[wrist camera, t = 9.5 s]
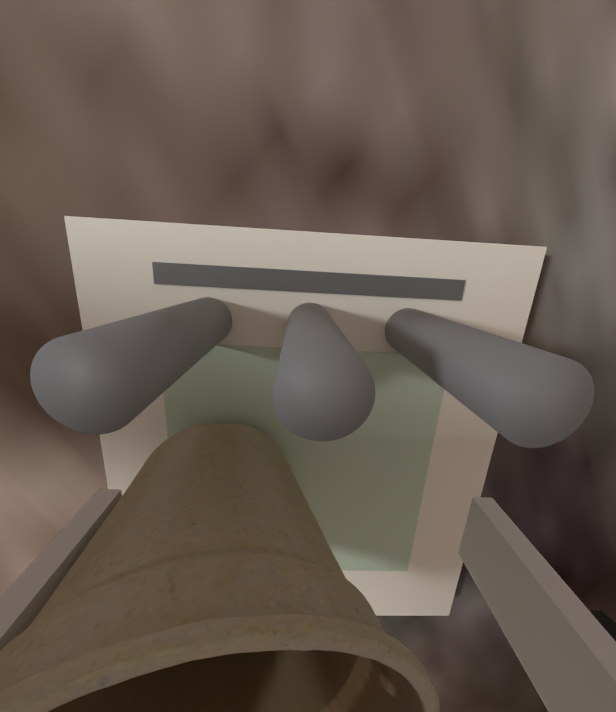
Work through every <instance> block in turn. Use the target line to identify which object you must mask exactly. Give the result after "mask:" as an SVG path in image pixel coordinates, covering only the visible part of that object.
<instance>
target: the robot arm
mask: <svg viewBox="0 0 616 712" xmlns="http://www.w3.org/2000/svg"><path fill="white" fill-rule="evenodd" d="M121 497H122V492H121V490H120V489H99V490H98V491H97V492H96V493H95V494H94V495H93V496H92V497H91V498H90V500H89V501H88V502H87V503H86V504H85V505H84V506H83V507H82V508H81V509H80V511H79V512H78V513H77V514H76V515H75V516H74V517H73V518H72V519H71V520H70V521H69V523H68V524H67V525H66V526H65V527H64V528H63V529H62V530H61V531H60V532H59V534H58V535H57V536H56V537H55V538H54V539H53V540H52V541H51V542H50V543H49V544H48V546H47V547H46V548H45V549H44V550H43V551H42V552H41V553H40V554H39V555H38V557H37V558H36V559H35V560H34V561H33V562H32V563H31V564H30V565H29V566H28V567H27V569H26V570H25V571H24V572H23V573H22V574H21V575H20V576H19V577H18V578H17V580H16V581H15V582H14V583H13V584H12V585H11V586H10V587H9V588H8V589H7V590H6V592H5V593H4V594H3V595H2V596H1V597H0V651H1V650H2V649H3V648H4V647H5V646H6V645H7V644H8V643H9V642H10V641H11V640H13V639H14V638H15V637H16V636H18V635H19V634H20V633H22V632H23V631H24V630H26V629H27V628H28V627H29V626H30V625H31V623H32V622H33V621H34V619H35V618H36V617H37V615H38V614H39V613H40V611H41V610H42V608H43V607H44V605H45V604H46V603H47V601H48V600H49V598H50V597H51V596H52V594H53V593H54V591H55V590H56V589H57V587H58V586H59V584H60V583H61V581H62V580H63V578H64V577H65V576H66V574H67V573H68V571H69V570H70V569H71V567H72V566H73V564H74V563H75V562H76V560H77V559H78V557H79V556H80V555H81V553H82V552H83V550H84V549H85V548H86V546H87V545H88V543H89V542H90V541H91V539H92V538H93V536H94V535H95V533H96V532H97V531H98V529H99V528H100V526H101V525H102V524H103V522H104V521H105V519H106V518H107V517H108V515H109V514H110V512H111V511H112V510H113V508H114V507H115V505H116V504H117V503H118V501H119V500H120V498H121ZM458 554H459V555H460V557H461V559H462V561H463V562H464V564H465V566H466V568H467V570H468V571H469V573H470V575H471V577H472V578H473V580H474V582H475V584H476V585H477V587H478V589H479V591H480V592H481V594H482V596H483V598H484V599H485V601H486V603H487V605H488V606H489V608H490V610H491V612H492V613H493V615H494V617H495V619H496V621H497V622H498V624H499V626H500V628H501V629H502V631H503V633H504V635H505V636H506V638H507V640H508V642H509V643H510V645H511V647H512V649H513V650H514V652H515V654H516V656H517V657H518V659H519V661H520V663H521V664H522V666H523V668H524V670H525V672H526V673H527V675H528V677H529V679H530V680H531V682H532V684H533V686H534V687H535V689H536V691H537V693H538V694H539V696H540V698H541V700H542V701H543V703H544V705H545V707H546V708H547V710H548V712H616V623H615V622H614V621H613V620H612V619H610V618H609V617H608V616H607V615H606V614H604V613H603V612H602V611H589V610H588V609H587V608H586V606H585V605H584V604H583V603H582V602H581V601H580V599H579V598H578V597H577V596H576V595H575V594H574V592H573V591H572V590H571V589H570V588H569V587H568V585H567V584H566V583H565V582H564V581H563V580H562V578H561V577H560V576H559V575H558V574H557V573H556V571H555V570H554V569H553V568H552V567H551V566H550V564H549V563H548V562H547V561H546V560H545V559H544V557H543V556H542V555H541V554H540V553H539V552H538V550H537V549H536V548H535V547H534V546H533V545H532V543H531V542H530V541H529V540H528V539H527V538H526V537H525V535H524V534H523V533H522V532H521V531H520V530H519V528H518V527H517V526H516V525H515V524H514V523H513V521H512V520H511V519H510V518H509V517H508V516H507V514H506V513H505V512H504V511H503V510H502V509H501V507H500V506H499V505H498V504H497V503H496V502H495V500H494V499H493V498H488V497H473V498H472V501H471V505H470V509H469V513H468V517H467V521H466V525H465V529H464V532H463V536H462V540H461V544H460V548H459V552H458Z"/></svg>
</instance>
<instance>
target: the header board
mask: <svg viewBox="0 0 616 712" xmlns="http://www.w3.org/2000/svg"><path fill="white" fill-rule="evenodd" d="M64 219H65V225H66V231H67V237H68V243H69V250H70V256H71V262H72V268H73V274H74V281H75V287H76V293H77V299H78V305H79V311H80V318H81V324H82V330H83V331H79V332H75V333H72V334H68V335H64V336H61V337H57V338H55V339H53V340H51V341H49V342H47V343H46V344H45V345H43V346H42V347H41V348H40V349H39V351H38V352H37V353H36V355H35V357H34V359H33V361H32V364H31V369H30V381H31V386H32V389H33V392H34V395H35V397H36V399H37V400H38V402H39V404H40V405H41V406H42V408H43V409H44V410H45V411H46V412H47V413H48V414H49V415H50V416H51V417H52V418H53V419H54V420H56V421H57V422H59V423H60V424H62V425H64V426H65V427H67V428H70V429H72V430H74V431H78V432H81V433H86V434H99V435H100V441H101V447H102V454H103V460H104V466H105V472H106V478H107V485H108V489H120V490H121V492H122V496H123V494H124V493H125V491H126V490H127V488H128V487H129V485H130V484H131V482H132V481H133V479H134V478H135V476H136V475H137V474H138V472H139V471H140V469H141V468H142V466H143V465H144V463H145V461H146V460H147V458H148V457H149V456H150V455H151V453H152V452H153V451H154V450H155V449H156V448H157V447H158V446H159V445H160V444H161V443H162V442H164V441H165V440H166V439H168V438H169V437H171V436H173V435H174V434H176V433H178V432H180V431H182V430H184V429H187V428H189V427H192V426H195V425H201V424H205V425H210V424H234V423H240V424H244V425H247V426H250V427H252V428H255V429H257V430H259V431H261V432H262V433H264V434H266V435H267V436H268V437H270V438H271V439H272V440H273V441H274V442H275V443H276V444H277V445H278V446H279V447H280V449H281V450H282V452H283V453H284V455H285V457H286V460H287V462H288V464H289V467H290V469H291V471H292V473H293V475H294V477H295V479H296V481H297V483H298V485H299V487H300V489H301V491H302V493H303V495H304V497H305V499H306V501H307V503H308V505H309V507H310V508H311V510H312V512H313V514H314V516H315V518H316V520H317V522H318V524H319V526H320V528H321V530H322V532H323V534H324V536H325V538H326V541H327V543H328V545H329V547H330V549H331V550H332V552H333V554H334V556H335V558H336V560H337V562H338V564H339V566H340V568H341V570H342V572H343V574H344V576H345V578H346V579H347V580H348V581H350V582H351V583H352V584H353V585H354V586H355V587H357V588H358V590H359V591H360V592H361V593H362V594H363V595H364V596H365V598H366V599H367V601H368V602H369V604H370V605H371V607H372V609H373V611H374V613H375V615H382V616H449V613H450V610H451V606H452V602H453V598H454V595H455V591H456V587H457V583H458V580H459V576H460V572H461V568H462V565H463V561H462V559H461V557H460V555H459V554H458V552H459V548H460V544H461V540H462V536H463V532H464V529H465V525H466V521H467V517H468V513H469V509H470V505H471V501H472V498H473V497H481V493H482V490H483V486H484V482H485V478H486V475H487V471H488V467H489V463H490V460H491V456H492V452H493V448H494V445H495V441H496V437H497V433H499V434H501V435H502V436H503V437H504V438H505V439H507V440H508V441H509V442H511V443H513V444H515V445H517V446H520V447H525V448H540V447H546V446H550V445H552V444H555V443H557V442H560V441H562V440H563V439H565V438H567V437H568V436H569V435H571V434H572V433H573V432H574V431H576V430H577V429H578V428H579V427H580V425H581V424H582V423H583V422H584V420H585V419H586V418H587V416H588V414H589V412H590V410H591V408H592V405H593V401H594V396H595V388H594V382H593V379H592V377H591V375H590V373H589V372H588V370H587V369H586V368H585V367H584V366H583V365H582V364H580V363H579V362H577V361H575V360H572V359H569V358H566V357H563V356H560V355H557V354H554V353H551V352H548V351H544V350H541V349H538V348H535V347H532V346H529V345H526V344H523V343H522V340H523V336H524V332H525V328H526V325H527V321H528V317H529V313H530V310H531V306H532V302H533V298H534V295H535V291H536V287H537V283H538V280H539V276H540V272H541V268H542V264H543V261H544V257H545V253H546V249H547V247H539V246H523V245H508V244H492V243H477V242H461V241H446V240H430V239H415V238H399V237H384V236H368V235H352V234H337V233H321V232H306V231H290V230H275V229H259V228H244V227H228V226H213V225H197V224H182V223H166V222H150V221H135V220H119V219H104V218H88V217H73V216H64Z"/></svg>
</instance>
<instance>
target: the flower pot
mask: <svg viewBox="0 0 616 712" xmlns="http://www.w3.org/2000/svg"><path fill="white" fill-rule="evenodd" d="M439 706H440V701H439V698H438V695H437V692H436V690H435V687H434V685H433V683H432V682H431V680H430V678H429V676H428V674H427V673H426V671H425V669H424V667H423V666H422V664H421V663H420V662H419V660H418V659H417V657H416V656H415V655H414V654H413V653H412V652H411V651H410V650H409V649H408V648H407V647H406V646H405V645H403V644H402V643H401V642H400V641H398V640H397V639H395V638H393V637H392V636H390V635H388V634H386V633H385V632H384V630H383V628H382V626H381V624H380V622H379V620H378V618H377V617H376V615H375V613H374V611H373V609H372V607H371V605H370V604H369V602H368V601H367V599H366V598H365V596H364V595H363V594H362V593H361V592H360V591H359V590H358V588H357V587H355V586H354V585H353V584H352V583H351V582H350V581H348V580H347V579H346V578H345V576H344V574H343V572H342V570H341V568H340V566H339V564H338V562H337V560H336V558H335V556H334V554H333V552H332V550H331V549H330V547H329V545H328V543H327V541H326V538H325V536H324V534H323V532H322V530H321V528H320V526H319V524H318V522H317V520H316V518H315V516H314V514H313V512H312V510H311V508H310V507H309V505H308V503H307V501H306V499H305V497H304V495H303V493H302V491H301V489H300V487H299V485H298V483H297V481H296V479H295V477H294V475H293V473H292V471H291V469H290V467H289V464H288V462H287V460H286V457H285V455H284V453H283V452H282V450H281V449H280V447H279V446H278V445H277V444H276V443H275V442H274V441H273V440H272V439H271V438H270V437H268V436H267V435H266V434H264V433H262V432H261V431H259V430H257V429H255V428H252V427H250V426H247V425H244V424H240V423H234V424H210V425H205V424H201V425H195V426H192V427H189V428H187V429H184V430H182V431H180V432H178V433H176V434H174V435H173V436H171V437H169V438H168V439H166V440H165V441H164V442H162V443H161V444H160V445H159V446H158V447H157V448H156V449H155V450H154V451H153V452H152V453H151V455H150V456H149V457H148V458H147V460H146V461H145V463H144V465H143V466H142V468H141V469H140V471H139V472H138V474H137V475H136V476H135V478H134V479H133V481H132V482H131V484H130V485H129V487H128V488H127V490H126V491H125V493H124V494H123V496H122V497H121V498H120V500H119V501H118V503H117V504H116V505H115V507H114V508H113V510H112V511H111V512H110V514H109V515H108V517H107V518H106V519H105V521H104V522H103V524H102V525H101V526H100V528H99V529H98V531H97V532H96V533H95V535H94V536H93V538H92V539H91V541H90V542H89V543H88V545H87V546H86V548H85V549H84V550H83V552H82V553H81V555H80V556H79V557H78V559H77V560H76V562H75V563H74V564H73V566H72V567H71V569H70V570H69V571H68V573H67V574H66V576H65V577H64V578H63V580H62V581H61V583H60V584H59V586H58V587H57V589H56V590H55V591H54V593H53V594H52V596H51V597H50V598H49V600H48V601H47V603H46V604H45V605H44V607H43V608H42V610H41V611H40V613H39V614H38V615H37V617H36V618H35V619H34V621H33V622H32V623H31V625H30V626H29V627H28V628H27V629H26V630H24V631H23V632H22V633H20V634H19V635H18V636H16V637H15V638H14V639H13V640H11V641H10V642H9V643H8V644H7V645H6V646H5V647H4V648H3V649H2V650H1V651H0V712H440V707H439Z"/></svg>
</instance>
